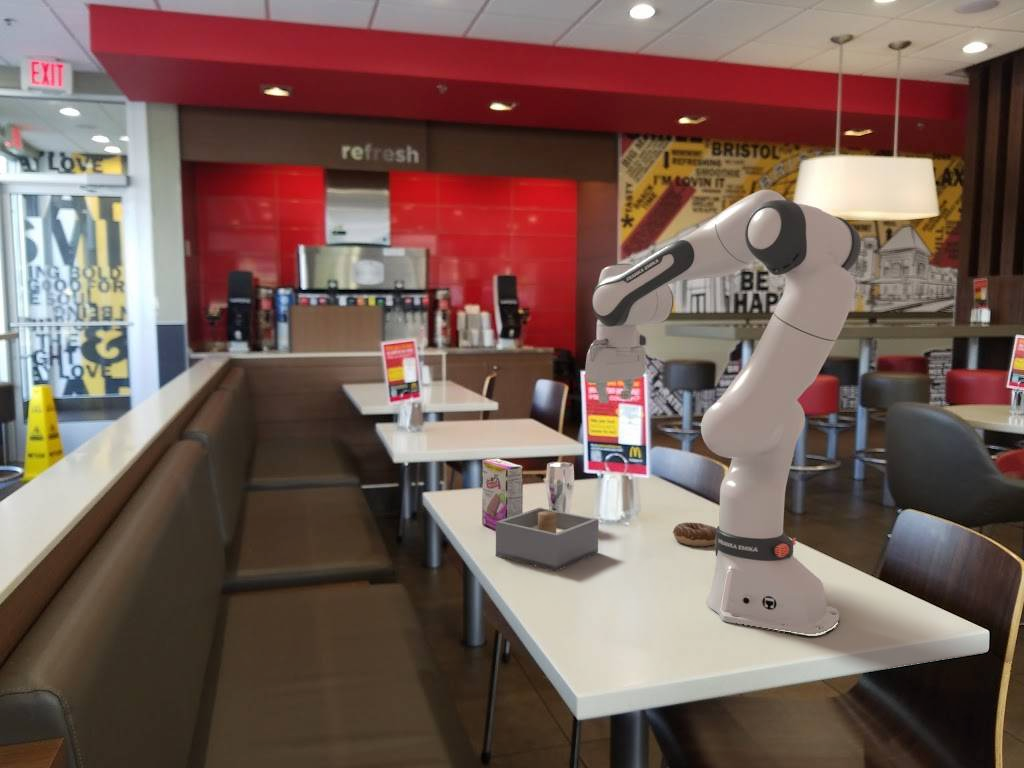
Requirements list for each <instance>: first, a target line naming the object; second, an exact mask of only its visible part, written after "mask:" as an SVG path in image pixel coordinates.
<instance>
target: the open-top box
mask: <svg viewBox="0 0 1024 768" xmlns="http://www.w3.org/2000/svg"><path fill="white" fill-rule="evenodd" d="M543 511H551V512H555V513H556V533H552V532H547V531H543V530H538V513H539V512H543ZM599 522H600V519H598V518H594V517H590V516H589V517H588V516H584V515H583V516H582V515H579V514H573V513H570V514H569V513H564V512H559V511H554V510H549V508H543V507H537V508H534V509H531V510H528V511H525V512H522V513H521V514H518V515H515V516H512V517H509V518H506V519H503V520H500V521H497V522H496V530H495V557H500V558H503V559H507V558H508V560H512V561H515V562H519V563H523V562H524V564H527V565H530V564H531V565H532V566H534V565H536V566H535V567H538V566H539V568H542V567H543V568H542V569H546V568H547V569H546V570H550V569H551V571H555V572H557V570H558V571H560V570H562V569H565V568H566V567H569V566H572V565H573V564H576V563H578V562H580V561H583V560H585V559H587V558H589V557H591V556H593V555H596V554H598V553H599V527H600V526H599ZM564 567H565V568H564Z"/></svg>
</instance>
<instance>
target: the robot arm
mask: <svg viewBox="0 0 1024 768" xmlns="http://www.w3.org/2000/svg"><path fill="white" fill-rule="evenodd" d="M861 248H862V241H861V237H860V233H859V232H858V230H857V229H856V228H855V227H854V226H853V224H851V223H850V222H849V221H847V220H845V219H844V218H842V217H841V216H840V217H839V216H834V215H832V214H830V213H829V212H826V211H824V210H822V209H821V208H818V207H816V206H812V205H807V204H801V203H796V202H794V201H791V200H789V199H788V200H787V198H785V197H784V196H783V195H782V194H781V193H779V192H777V191H775V190H771V189H761V190H758V191H755V192H754V193H751V194H749V195H747V196H745V197H743V198H741V199H739V200H738V201H736V202H734V203H732V204H731V205H730V206H728V207H727V208H725V209H724V210H723V211H721V212H720V213H719V214H717V215H716V216H714V217H713V218H712V219H710V220H708V221H707V222H706V223H704V224H703V225H701V226H700V227H698V228H696V229H695V230H694V231H692V232H690V233H689V234H687V235H686V236H684V237H682V238H680V239H678V240H677V241H675V242H673V243H671V244H669V245H667V246H666V247H664V248H662V249H660V250H658V251H657V252H655V253H653V254H652V255H650V256H649V257H647V258H646V259H644V260H642V261H641V262H639V263H638V264H636V265H634V264H630V263H618V264H611V265H608V266H606V267H604V268H603V269H601V272H600V275H599V278H598V283H597V286H596V287H595V288H594V290H593V293H592V296H591V307H592V311H593V314H594V315H595V318H597V321H596V339H594V340H593V341H592V343H591V345H590V346H589V348H588V350H587V351H588V352H587V353H586V359H585V360H586V361H585V368H584V378H585V381H586V383H589V384H595V388H596V392H597V394H598V402H599V403H600V404H608V403H609V402H610V394H608V392H607V391H608V390H607V388H608V383H612V382H621V381H622V383H623V388H622V390H621V391H620V399H621V400H631V398H632V390H633V388H634V385H635V379H642V378H643V377H644V374H645V371H646V361H647V360H646V359H647V358H646V357H647V353H646V348H645V347H646V346H647V345H648V337H647V336H646V335H645V334H643V333H642V332H640V331H639V330H638V326H641V325H643V326H644V325H646V326H647V325H648V326H649V325H659V324H662V323H664V322H665V321H666V320H667V319H668V318H669V317H670V315H671V314H672V312H673V308H674V296H673V292H672V289H671V287H670V286H669V284H673V283H675V282H680V281H686V280H695V279H697V280H699V279H714V278H715V279H716V278H724V277H726V276H729V275H732V274H735V273H737V272H739V271H741V270H743V269H745V268H746V267H748V266H750V265H751V264H753V263H754V262H756V261H757V260H758V261H759V262H760V263H762V264H763V265H764V266H765V267H766V269H767V270H768V272H770V273H771V274H772V275H773V276H781V275H783V277H784V282H785V285H784V291H783V293H782V296H781V298H780V300H779V301H778V304H777V306H776V308H775V309H774V311H773V312H772V314H771V317H770V319H769V322H768V323H767V325H766V327H765V329H764V331H763V333H762V335H761V337H760V339H759V341H758V344H757V345H756V347H755V349H754V351H753V352H752V354H751V356H750V357H749V359H748V360H747V362H746V363H745V364H744V366H743V367H742V368H741V369H740V371H739V372H738V374H736V375H735V377H734V378H733V380H732V382H730V384H729V385H728V387H727V389H726V390H725V391H724V392H723V394H722V395H721V396H720V397H719V399H717V401H715V402H714V403H713V404H712V405H711V406H710V407H709V408H708V409H706V411H705V412H704V414H703V417H702V419H701V423H700V431H701V436H702V440H703V442H704V444H705V445H706V446H707V448H708V450H710V451H711V452H712V453H713V454H715V455H717V456H719V457H721V458H727V459H731V460H730V461H731V462H730V464H729V468H728V470H727V472H726V474H725V476H724V477H723V479H722V482H721V483H720V487H719V489H720V491H719V515H718V516H719V518H718V519H719V520H718V526H716V528H717V530H716V539H715V544H714V547H715V556H716V562H715V569H714V575H713V579H712V585H711V588H710V591H709V594H708V597H707V599H706V604H707V605H708V607H709V609H712V611H714V612H716V613H717V614H718V615H719V617H720V619H721V620H722V621H724V622H727V623H733V624H736V623H737V625H742V624H744V625H743V626H747V625H750V626H749V627H752V626H756V627H755V628H758V626H759V627H765V628H771V629H778V630H785V631H791V632H797V633H804V634H816V633H821V632H824V631H827V630H828V629H830V628H832V627H833V626H834V625H835V624H836V623H837V622H838V620H839V618H840V613H839V611H838V610H837V608H836V607H832V606H829V605H827V596H826V590H825V586H824V584H823V582H822V581H821V579H820V578H819V577H818V576H816V574H814V573H813V572H812V571H810V569H809V568H807V567H806V566H805V565H804V564H803V563H802V562H801V561H799V559H797V558H796V557H795V556H794V546H795V545H796V544H797V543H796V540H797V537H794V538H792V539H791V538H790V537H789V536H788V535H787V534H786V533H785V532H784V516H785V515H784V514H785V513H784V512H785V499H786V497H785V496H786V490H787V489H786V487H787V483H788V478H789V473H790V471H791V470H790V469H791V466H792V463H793V458H794V454H795V450H796V444H797V442H798V439H799V437H800V435H801V434H802V432H803V430H804V428H805V425H806V424H805V423H806V416H805V415H806V414H805V410H804V408H803V407H802V406H803V405H802V404H801V403H800V402H799V400H798V399H800V397H801V396H802V394H803V393H804V392H805V391H806V390H807V389H808V388H809V387H810V386H811V385H813V384H814V382H815V381H816V378H817V377H818V375H819V374H820V371H821V369H822V367H823V366H824V364H825V362H826V361H827V358H828V356H829V354H830V353H831V351H832V349H833V347H834V346H835V343H836V342H837V340H838V337H839V336H840V333H841V331H842V329H843V327H844V325H845V323H846V321H847V318H848V315H849V312H850V311H851V307H852V304H853V300H854V298H855V294H856V289H857V288H856V287H857V285H856V281H855V279H854V277H853V276H852V275H851V273H850V269H851V268H852V267H853V266H854V265H855V264H856V262H857V261H858V258H859V256H860V254H861V250H862V249H861ZM817 628H818V629H817Z"/></svg>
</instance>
